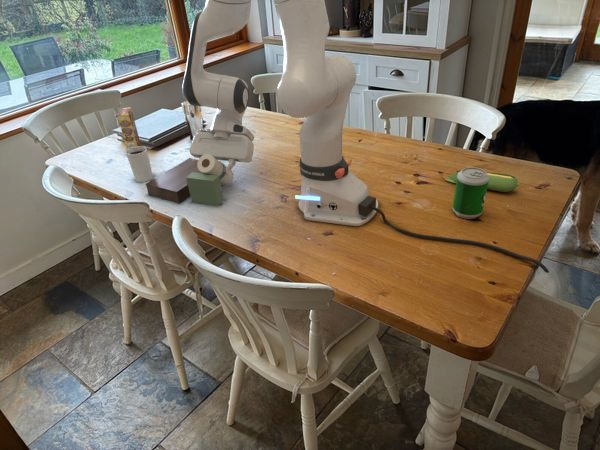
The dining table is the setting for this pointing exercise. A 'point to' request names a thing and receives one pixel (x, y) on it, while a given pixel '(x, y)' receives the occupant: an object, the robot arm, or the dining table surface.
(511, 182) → the edible corn
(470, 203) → the soda can
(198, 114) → the beer glass
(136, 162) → the white cup
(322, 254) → the dining table surface
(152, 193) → the chopping block
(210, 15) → the robot arm
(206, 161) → the paper roll
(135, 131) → the candy box
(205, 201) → the green block
